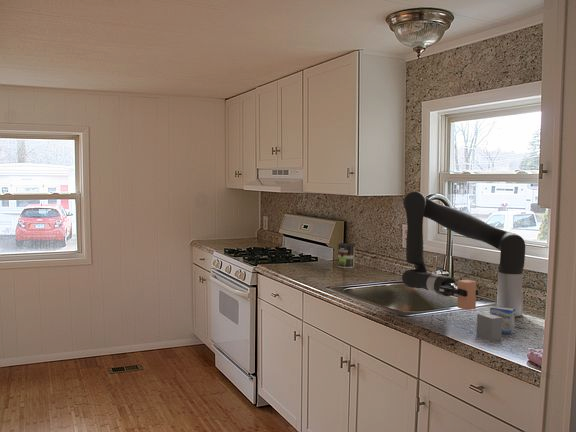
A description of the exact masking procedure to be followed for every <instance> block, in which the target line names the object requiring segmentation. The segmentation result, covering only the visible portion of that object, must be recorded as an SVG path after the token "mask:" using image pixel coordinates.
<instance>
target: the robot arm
mask: <svg viewBox="0 0 576 432" xmlns="http://www.w3.org/2000/svg"><path fill="white" fill-rule="evenodd" d="M402 205H403V208H404V209H405V215H406V223H407V224H406V225H407V226H406V228H407V229H406V231H407V232H406V239H405V240H406V244H405V247H406V248H405V250H406V251H405V254H406V255H405V256H406V257H405V259H406V262H407V263H408V264H410V265H413V266H414V269H407V270H405V271H404V272H403V273H402V276H401V280H402V282H403V284H404V285H405V286H406V287H408V288H413V289H414V288H415V289H422V290H425V291H429V292H432V293H434V294H437V295H440V296H443V297H450V296H458V295H461V296H464V297H467V293H468V292H467V291H466V290H463V289H459V288H458V282H456V280H455V279H454V278H453V277H451V276H446V275H442V274H439V273H438V274H436V273H432V272H428V271H427V267H426V263H425V259H424V234H423V233H424V231H423V227H424V226H423V224H424V218H426V219H429V220H432V221H434V222H435V223H437V224H439V225H440V226H441V227H443V228H445V229H448V230H449V231H451V232H452V233H455V234H458V235H460V236H463V237H466V238H468V239H472V240H475V241H476V240H477V241H480V242H483V243H486V244H488V245H489V246H492V247H493V248H495V249H496V250H498V251H500V253H499V254H500V256H499V264H498V270H497V271H498V273H497V292H496V293H497V294H496V297H497V298H496V306H498V307H505V308H512V309H515V317H520V316H522V315H523V311H524V310H523V309H524V291H523V275H524V274H523V272H524V267H525V261H526V259H525V258H526V242H525V240H524V238H523V237H522V236H520V235H519V234H517V233H515V232H511V231H507V230H504V229H501V228H498V227H495V226H494V225H493V226H492V225H491V224H489V223H487V222H485V221H484V220H482V219H480V218H478V217H477V216H475V215H472V214H470V213H468V212H465V211H463V210H460V209H459V208H458V209H457V208H455V207H451V206H446V205H443V204H440V203H437V202H436V201H434V200H432V199H430V198H428V197H426V196H425V195H424V194H423V193H422V192H420V191H410V192H408V193H407V194H406V195H405V196H404V198H403V200H402ZM476 296H479V289H478V288H476Z"/></svg>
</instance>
